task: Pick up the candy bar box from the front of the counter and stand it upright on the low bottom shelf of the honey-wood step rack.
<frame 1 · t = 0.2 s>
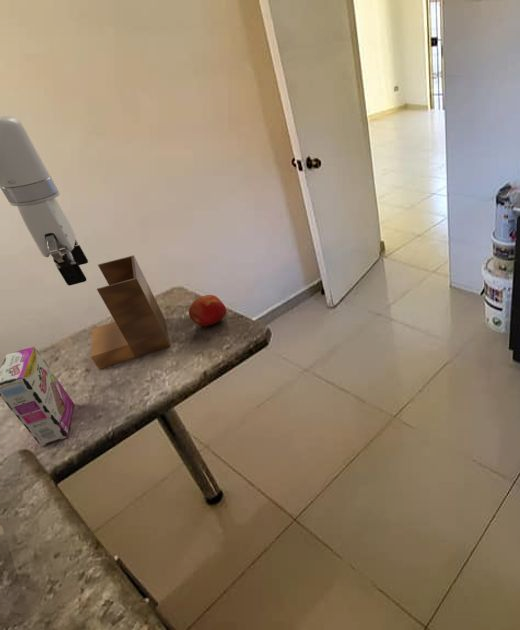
hand: (78, 273, 89), 27 cm above the countertop, tool pointing down, fingers open, 9 cm apart
candy bar box: (60, 424, 91), on the countertop
apple: (212, 323, 119), on the countertop
step rack: (134, 342, 113), on the countertop
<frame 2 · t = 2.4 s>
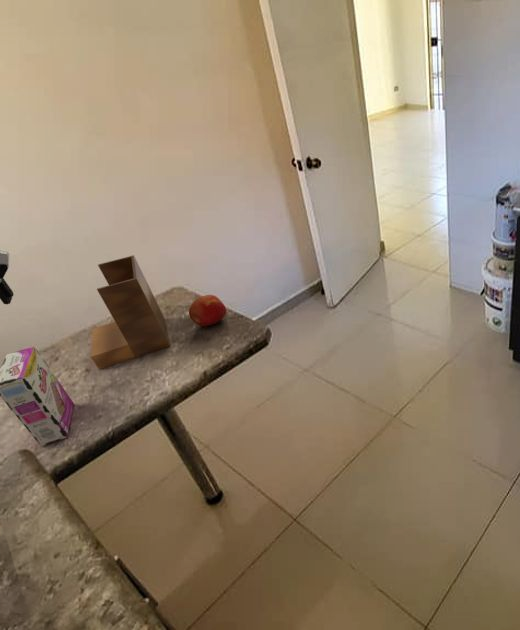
nothing on the countertop moved.
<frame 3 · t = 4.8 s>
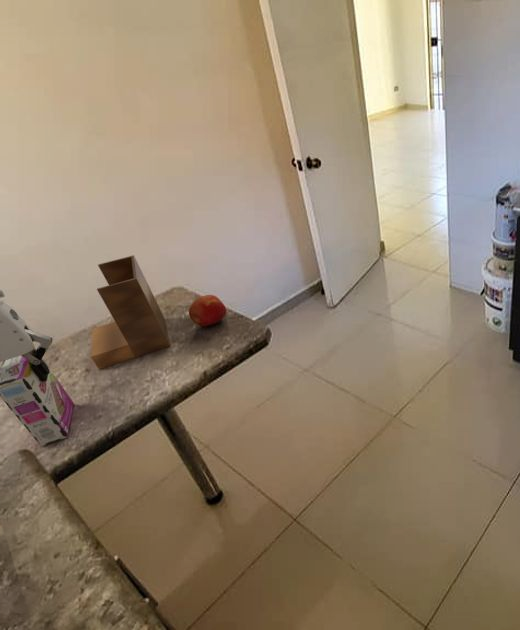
hand: (27, 382, 84), 12 cm above the countertop, tool pointing down, fingers closed on candy bar box, 5 cm apart
candy bar box: (60, 424, 91), on the countertop, touching gripper
everything else where it was.
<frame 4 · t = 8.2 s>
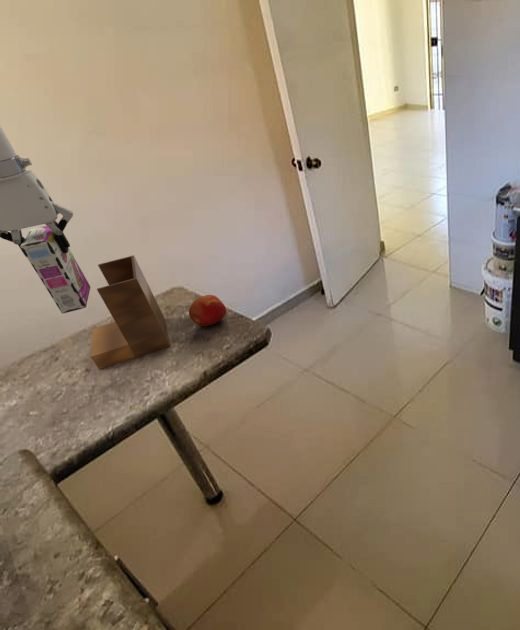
hand: (50, 253, 94), 28 cm above the countertop, tool pointing down, fingers closed on candy bar box, 5 cm apart
candy bar box: (78, 300, 100), point 16 cm above the countertop, touching gripper
everything else where it was.
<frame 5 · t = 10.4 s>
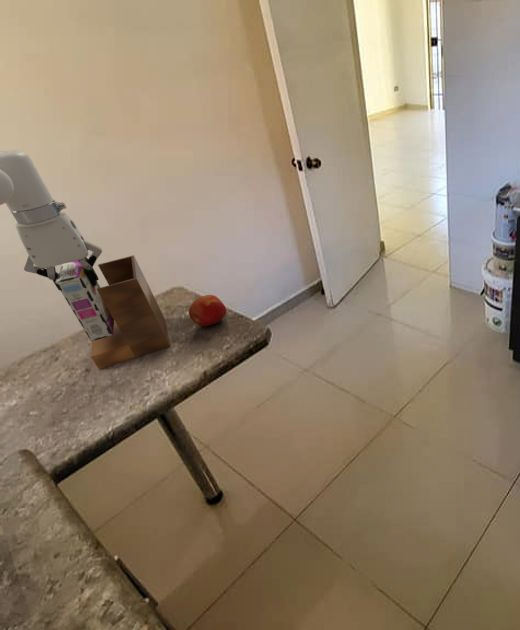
hand: (80, 286, 101), 19 cm above the countertop, tool pointing down, fingers closed on candy bar box, 5 cm apart
candy bar box: (105, 328, 108), point 7 cm above the countertop, touching gripper
everything else where it was.
when the fingers open (16 cm above the countertop, at t = 11.6 s): candy bar box stays where it is, resting on step rack.
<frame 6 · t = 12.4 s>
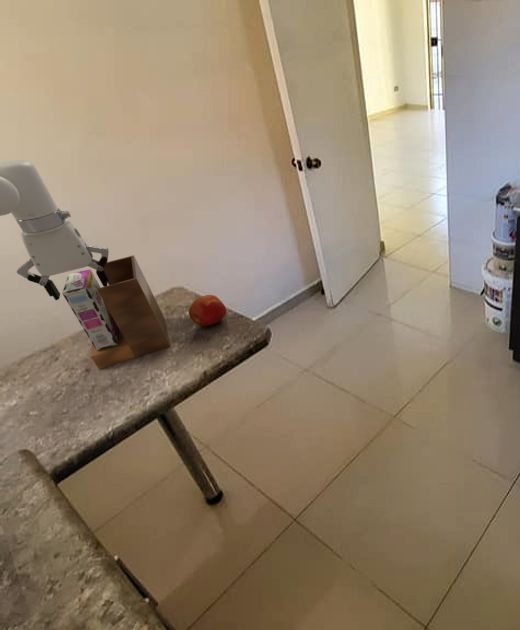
hand: (82, 290, 102), 18 cm above the countertop, tool pointing down, fingers open, 9 cm apart
candy bar box: (109, 337, 110), point 4 cm above the countertop, touching step rack
everything else where it was.
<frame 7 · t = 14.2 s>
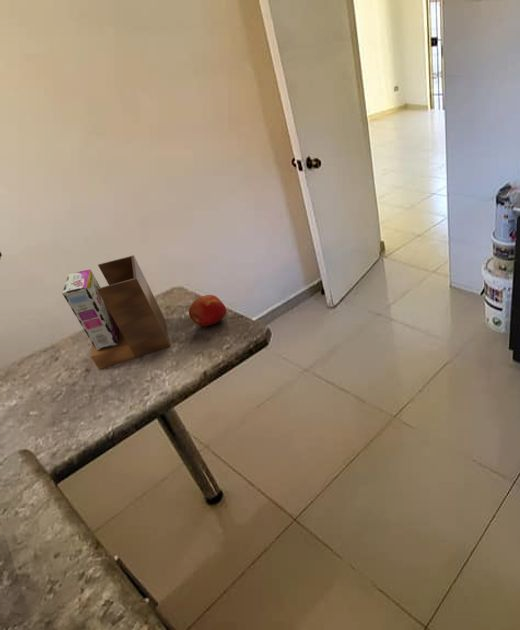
nothing on the countertop moved.
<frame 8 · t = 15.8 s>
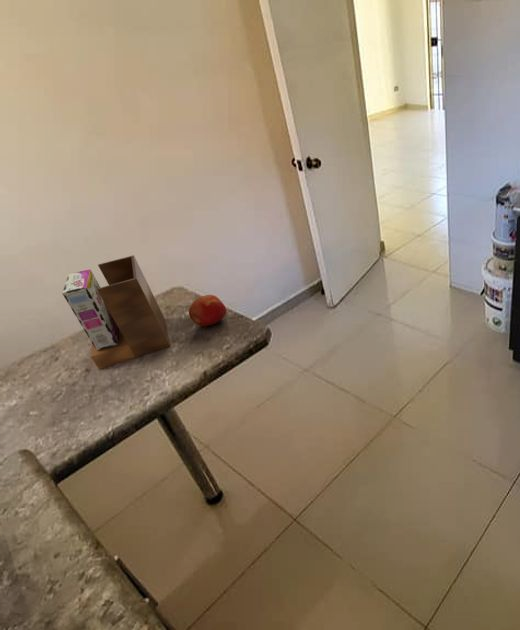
nothing on the countertop moved.
at the end: candy bar box inside the target area on the step rack (0.1 cm from its centre), point 3.8 cm above the step rack's base; candy bar box tilted 0°; the gripper is holding nothing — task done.
